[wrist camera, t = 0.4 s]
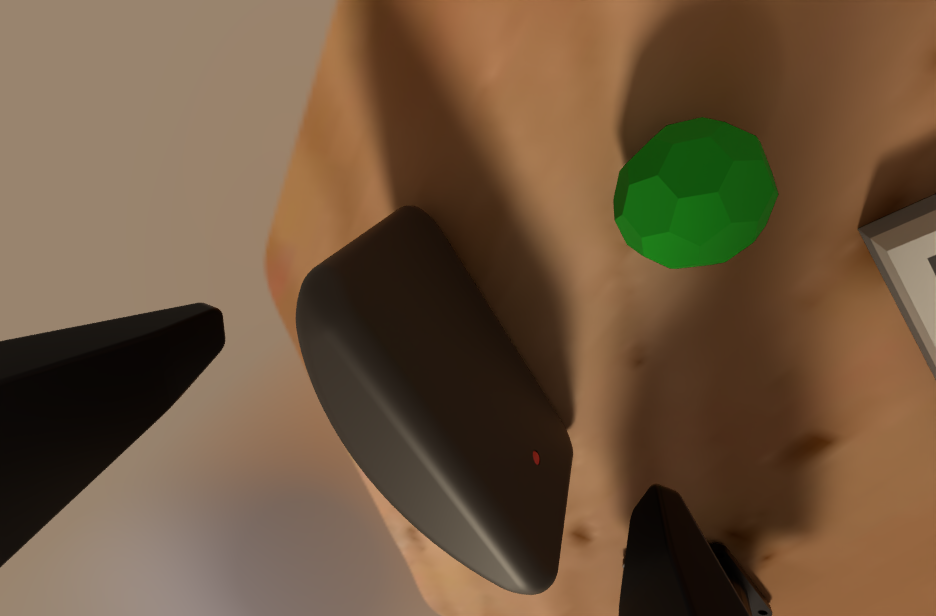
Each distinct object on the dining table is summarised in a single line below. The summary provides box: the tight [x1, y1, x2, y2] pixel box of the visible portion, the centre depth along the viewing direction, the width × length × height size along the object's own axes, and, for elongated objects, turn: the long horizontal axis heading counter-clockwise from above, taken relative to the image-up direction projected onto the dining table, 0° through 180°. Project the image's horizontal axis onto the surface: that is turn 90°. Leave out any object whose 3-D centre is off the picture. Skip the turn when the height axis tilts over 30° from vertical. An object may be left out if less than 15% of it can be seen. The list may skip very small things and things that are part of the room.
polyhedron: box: [614, 117, 778, 269], centre depth 15 cm, size 5×5×5 cm
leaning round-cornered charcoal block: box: [296, 206, 573, 595], centre depth 20 cm, size 16×5×10 cm, turn 34°
